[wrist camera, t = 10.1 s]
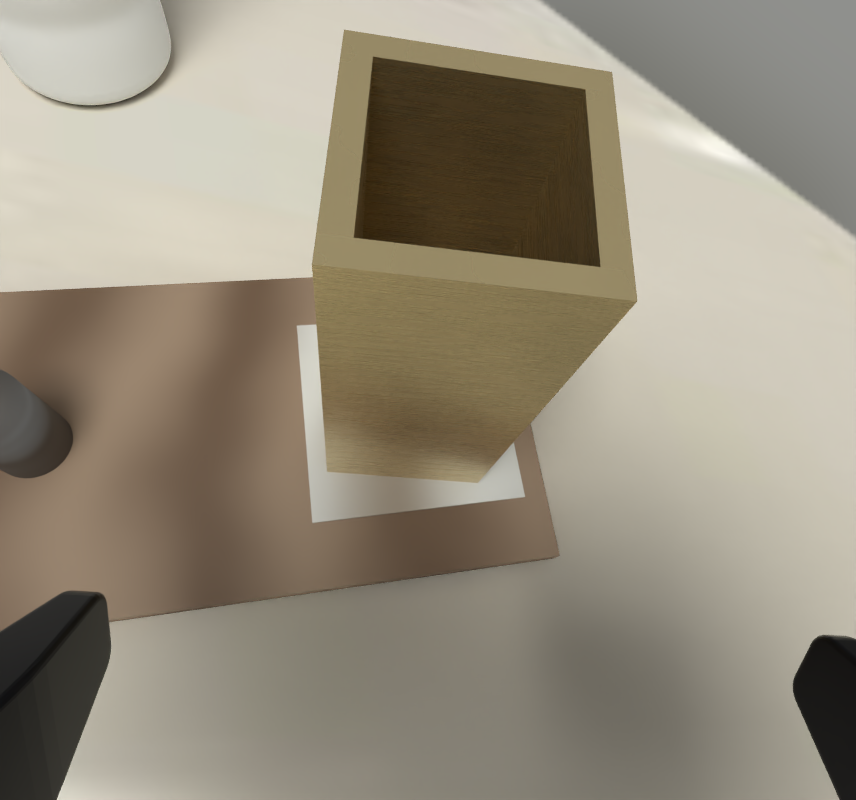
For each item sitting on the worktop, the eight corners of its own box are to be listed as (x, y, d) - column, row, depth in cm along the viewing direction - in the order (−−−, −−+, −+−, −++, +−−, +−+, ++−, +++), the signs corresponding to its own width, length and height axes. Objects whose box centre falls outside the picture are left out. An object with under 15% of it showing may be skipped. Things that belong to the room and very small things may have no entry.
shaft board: (491, 279, 26) (518, 214, 22) (552, 558, 22) (599, 540, 18) (-80, 308, 22) (-172, 235, 18) (-143, 658, 18) (-281, 662, 14)
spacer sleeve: (477, 483, 21) (637, 301, 10) (326, 472, 21) (312, 264, 9) (478, 350, 23) (611, 72, 12) (341, 336, 23) (343, 30, 11)
